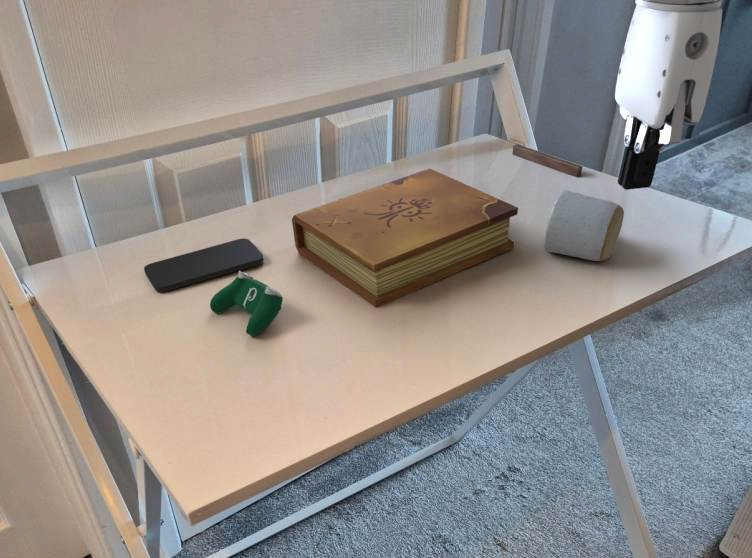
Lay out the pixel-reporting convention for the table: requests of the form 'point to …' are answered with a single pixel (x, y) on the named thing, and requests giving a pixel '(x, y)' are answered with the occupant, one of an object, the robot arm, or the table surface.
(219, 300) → the gaming controller
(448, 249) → the diary
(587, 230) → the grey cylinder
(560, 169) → the back rail
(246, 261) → the phone
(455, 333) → the table surface
